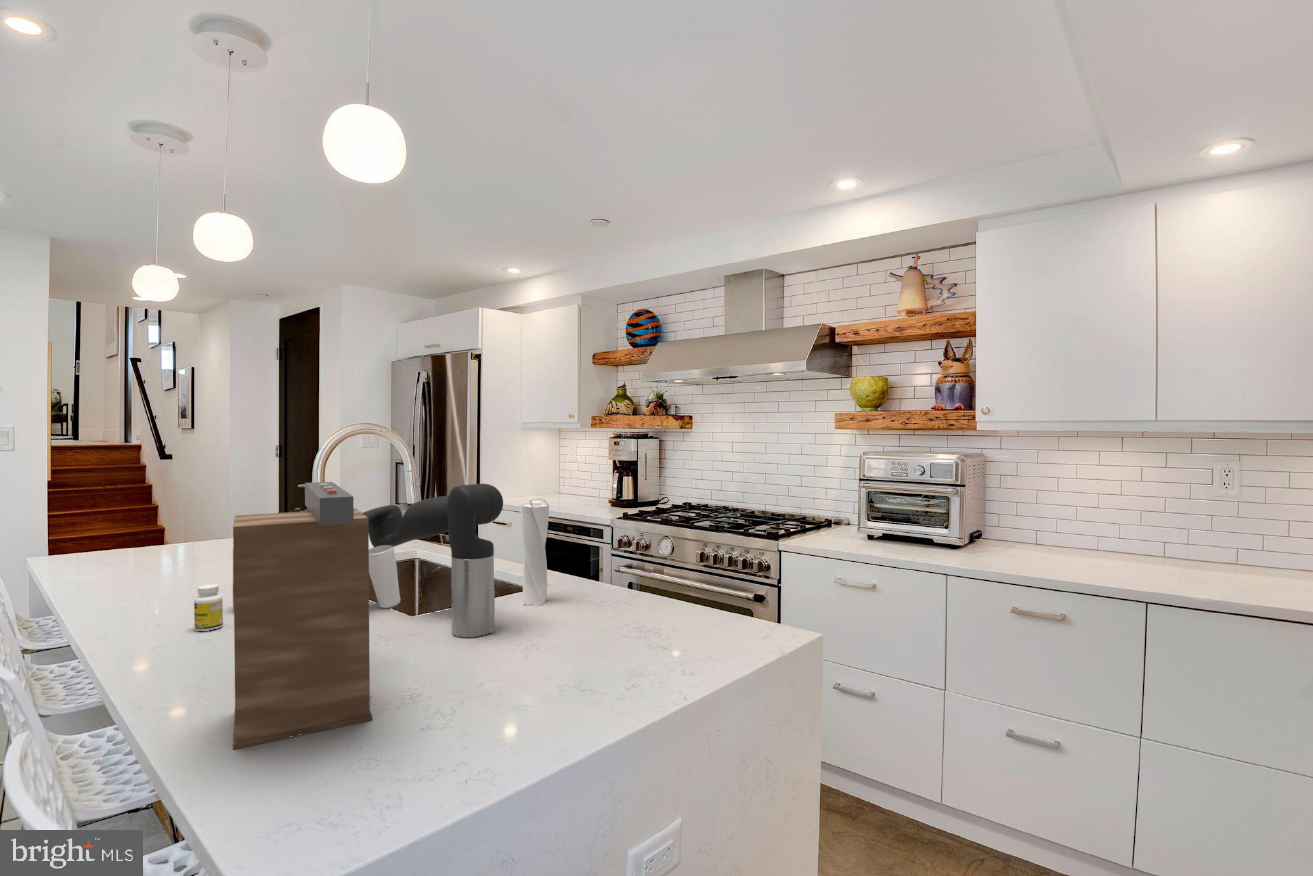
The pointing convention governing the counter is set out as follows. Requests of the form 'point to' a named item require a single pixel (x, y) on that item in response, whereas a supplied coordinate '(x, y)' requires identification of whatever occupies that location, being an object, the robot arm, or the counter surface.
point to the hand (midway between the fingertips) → (324, 513)
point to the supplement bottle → (208, 608)
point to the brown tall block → (299, 625)
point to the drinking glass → (384, 575)
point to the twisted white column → (534, 551)
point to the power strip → (329, 503)
